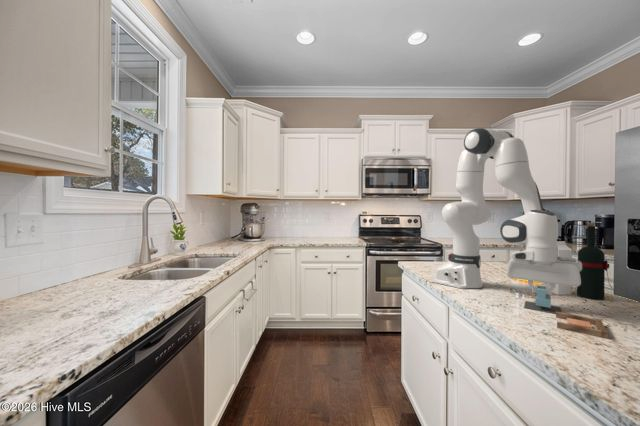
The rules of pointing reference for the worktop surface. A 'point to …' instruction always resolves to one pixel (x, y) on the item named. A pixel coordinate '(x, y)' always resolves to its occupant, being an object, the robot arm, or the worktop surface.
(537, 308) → the mat
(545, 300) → the pusher
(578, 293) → the wine bottle
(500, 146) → the robot arm
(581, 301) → the worktop surface
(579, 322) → the tile
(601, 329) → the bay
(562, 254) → the milk
